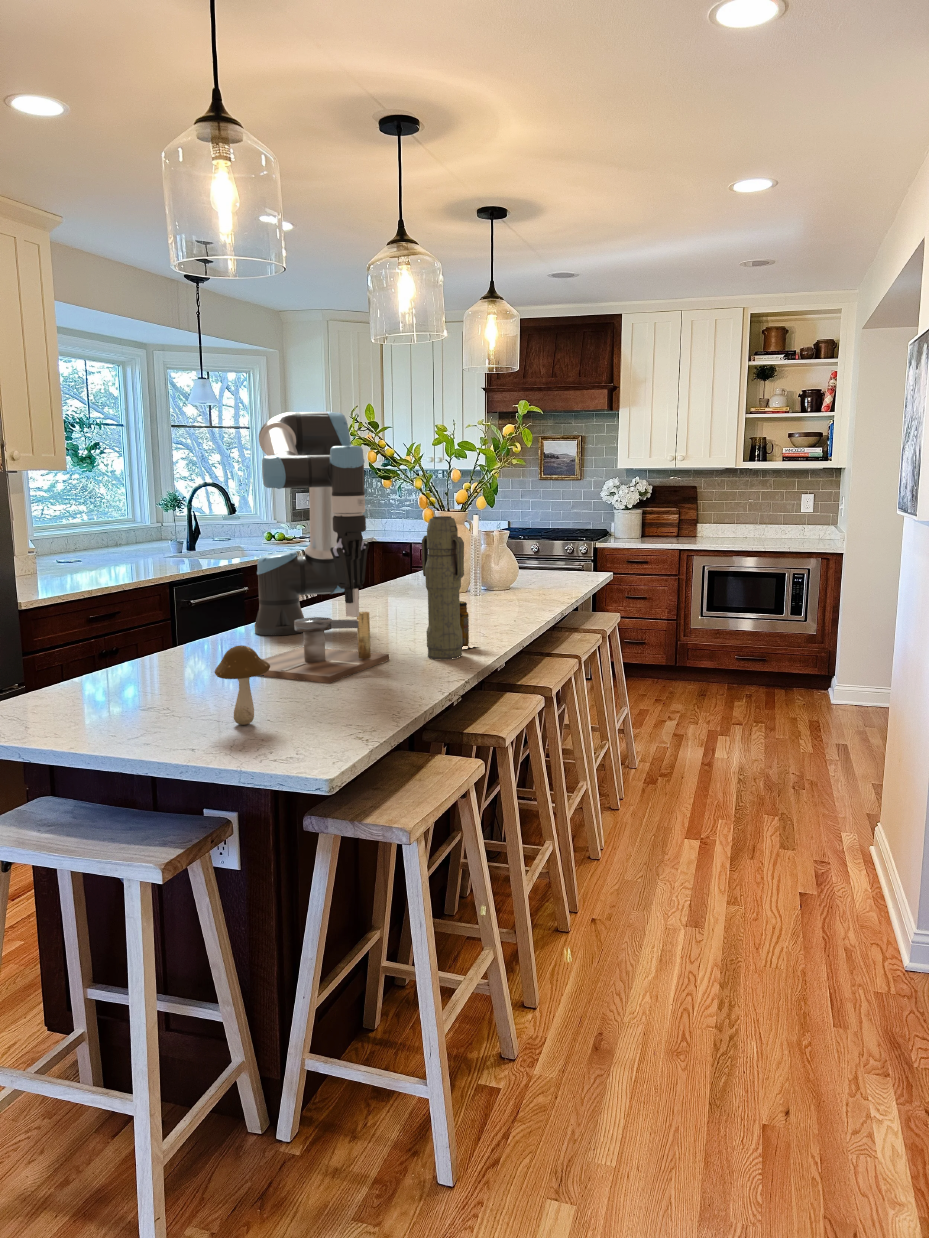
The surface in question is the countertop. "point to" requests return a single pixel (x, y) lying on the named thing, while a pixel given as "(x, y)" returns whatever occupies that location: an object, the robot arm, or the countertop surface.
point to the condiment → (464, 623)
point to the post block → (319, 661)
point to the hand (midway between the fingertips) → (352, 616)
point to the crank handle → (327, 623)
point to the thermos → (443, 586)
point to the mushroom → (242, 678)
